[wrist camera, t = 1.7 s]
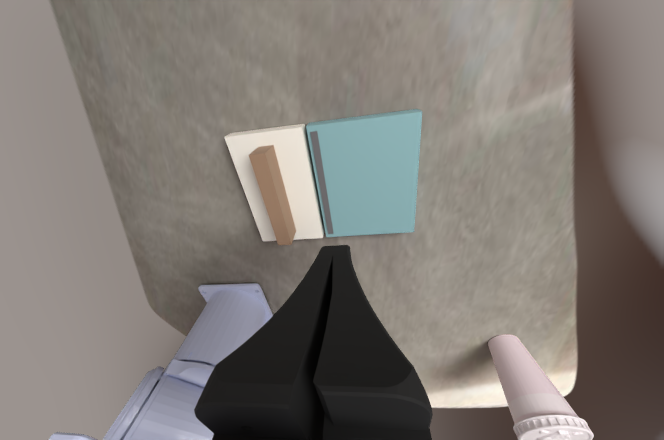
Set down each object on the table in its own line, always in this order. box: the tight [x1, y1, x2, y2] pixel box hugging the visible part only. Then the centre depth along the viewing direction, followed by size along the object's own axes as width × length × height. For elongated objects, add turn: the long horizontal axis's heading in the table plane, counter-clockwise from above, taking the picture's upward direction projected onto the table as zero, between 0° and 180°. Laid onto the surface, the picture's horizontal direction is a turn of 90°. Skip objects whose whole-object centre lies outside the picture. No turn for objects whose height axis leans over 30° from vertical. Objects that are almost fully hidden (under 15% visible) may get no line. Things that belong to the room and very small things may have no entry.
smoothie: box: [488, 334, 594, 440], centre depth 25 cm, size 6×6×14 cm
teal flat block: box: [306, 109, 422, 237], centre depth 19 cm, size 10×8×1 cm
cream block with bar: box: [224, 124, 324, 245], centre depth 20 cm, size 10×6×3 cm, turn 8°
